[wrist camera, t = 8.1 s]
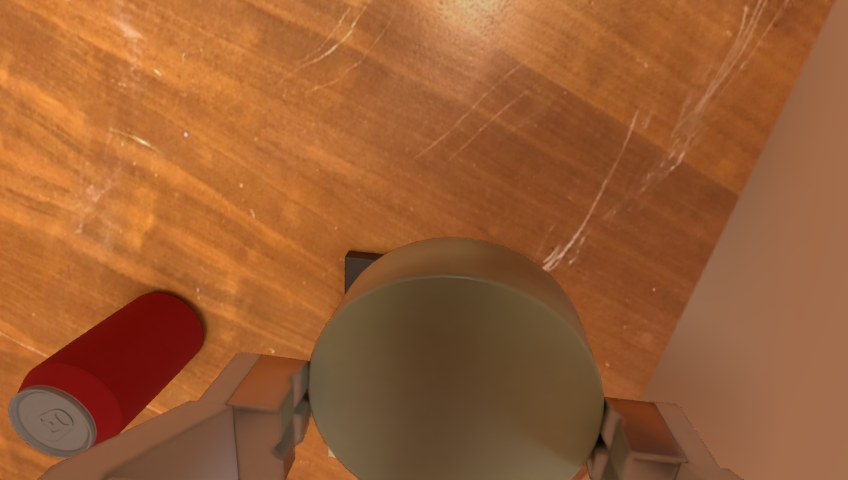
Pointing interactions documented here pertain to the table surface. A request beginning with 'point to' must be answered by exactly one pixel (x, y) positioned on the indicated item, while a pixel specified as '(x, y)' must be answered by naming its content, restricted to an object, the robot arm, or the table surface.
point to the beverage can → (105, 376)
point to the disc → (456, 369)
